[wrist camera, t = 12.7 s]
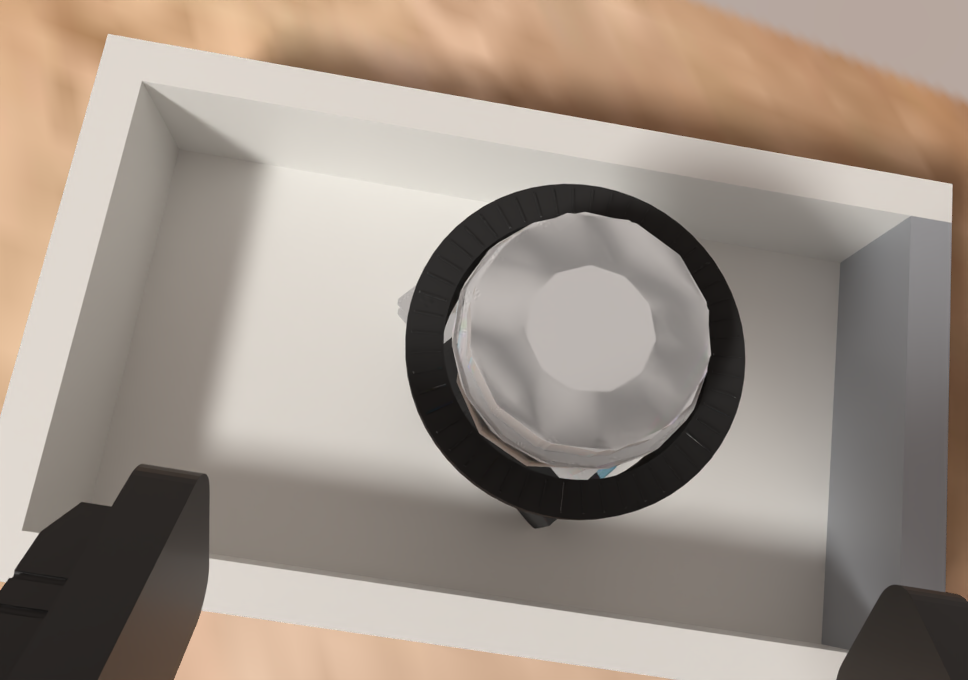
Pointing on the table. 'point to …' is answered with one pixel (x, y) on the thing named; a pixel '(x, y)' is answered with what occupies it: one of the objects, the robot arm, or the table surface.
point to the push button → (573, 352)
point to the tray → (397, 268)
